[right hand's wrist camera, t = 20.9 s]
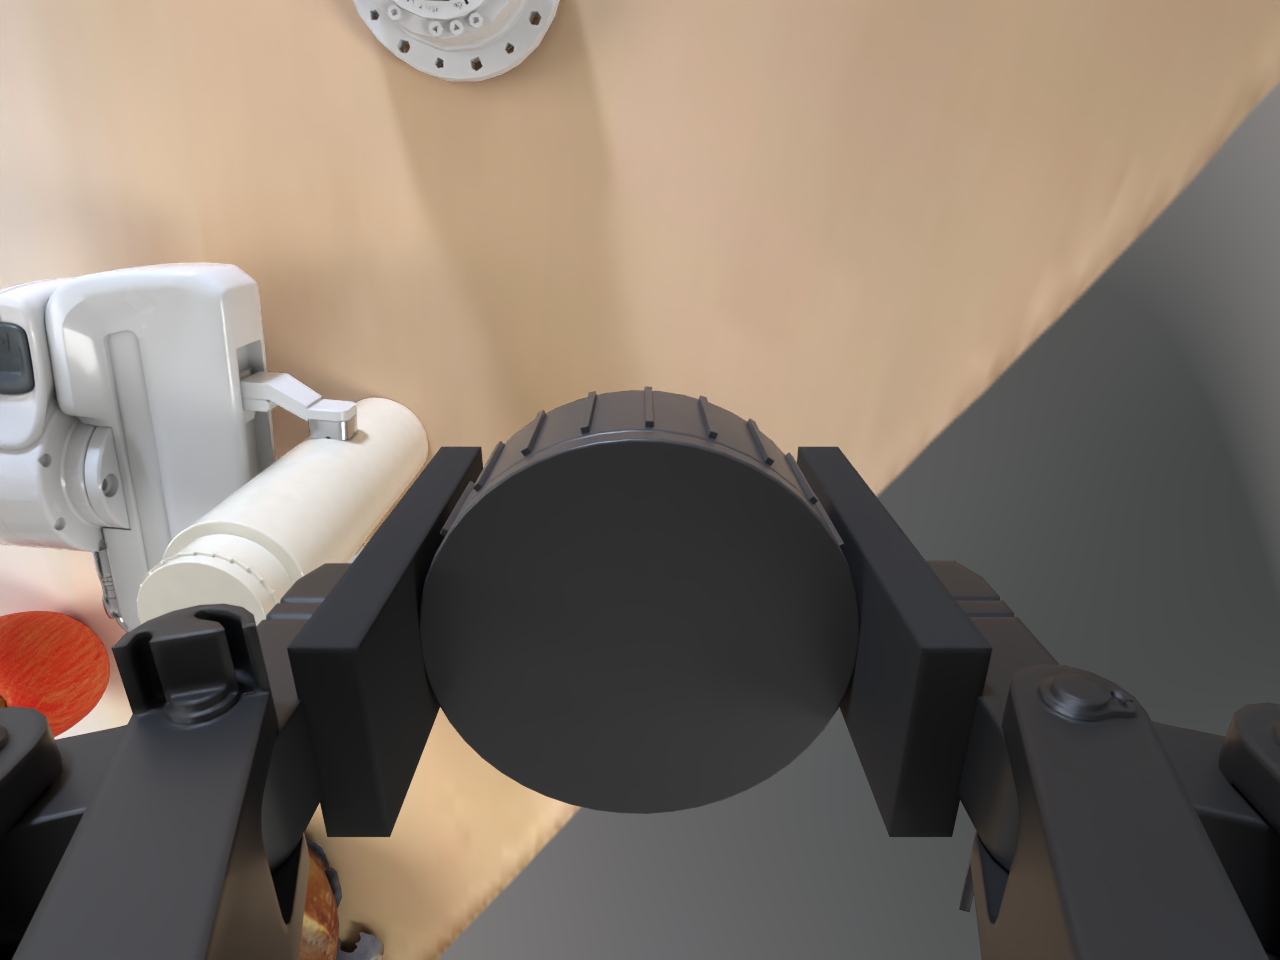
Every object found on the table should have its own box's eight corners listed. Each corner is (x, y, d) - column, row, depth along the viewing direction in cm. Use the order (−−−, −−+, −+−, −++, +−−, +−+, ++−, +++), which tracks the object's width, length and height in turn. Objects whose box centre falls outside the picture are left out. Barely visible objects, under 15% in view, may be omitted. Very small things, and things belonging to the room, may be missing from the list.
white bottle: (399, 383, 41) (222, 525, 24) (444, 465, 43) (311, 653, 26) (318, 418, 42) (87, 581, 24) (365, 497, 44) (183, 701, 26)
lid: (530, 747, 14) (509, 856, 11) (393, 449, 11) (332, 512, 9) (856, 667, 13) (900, 764, 11) (776, 333, 11) (813, 370, 9)
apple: (-22, 627, 47) (-146, 710, 40) (63, 568, 45) (-50, 642, 38) (75, 711, 49) (-25, 803, 42) (158, 657, 48) (70, 743, 40)
